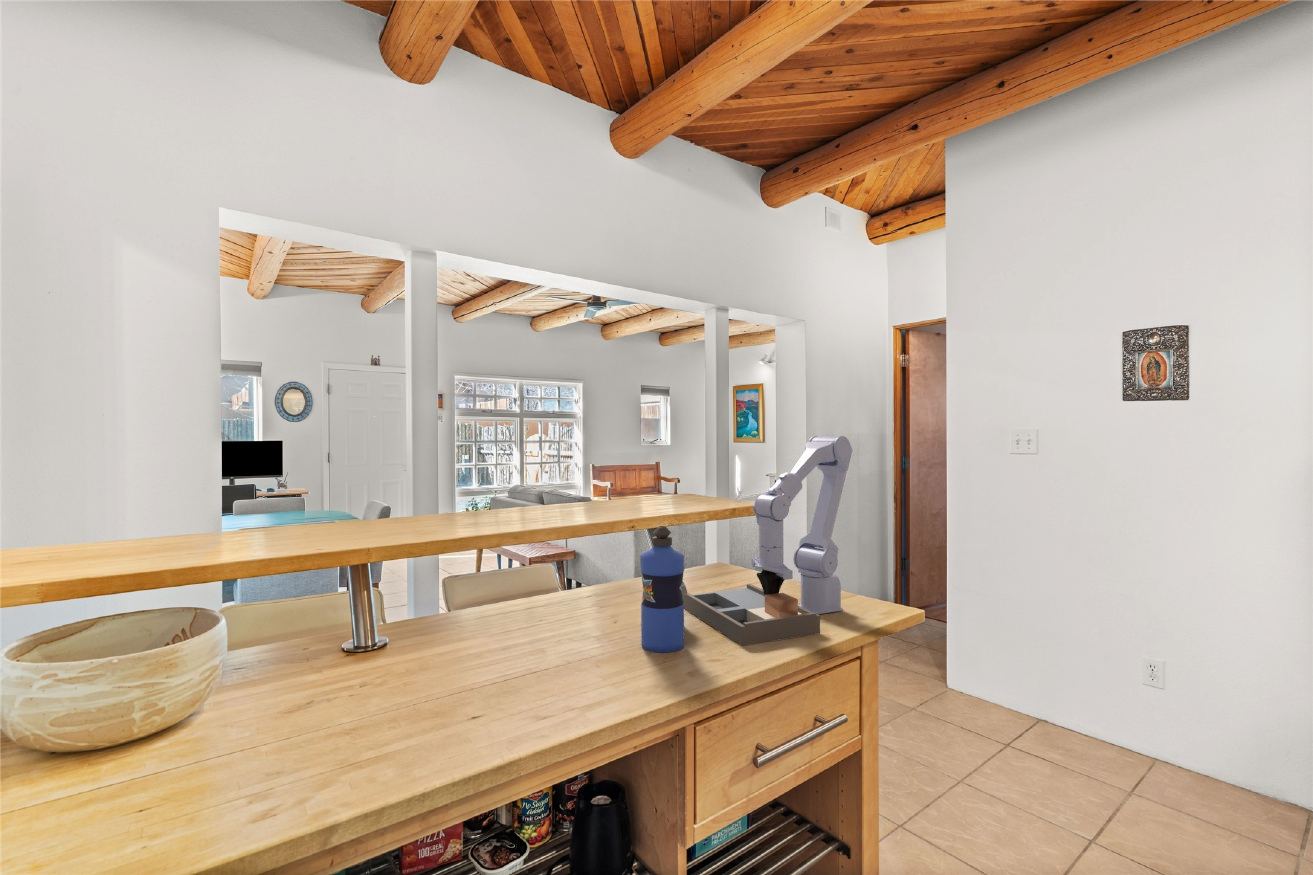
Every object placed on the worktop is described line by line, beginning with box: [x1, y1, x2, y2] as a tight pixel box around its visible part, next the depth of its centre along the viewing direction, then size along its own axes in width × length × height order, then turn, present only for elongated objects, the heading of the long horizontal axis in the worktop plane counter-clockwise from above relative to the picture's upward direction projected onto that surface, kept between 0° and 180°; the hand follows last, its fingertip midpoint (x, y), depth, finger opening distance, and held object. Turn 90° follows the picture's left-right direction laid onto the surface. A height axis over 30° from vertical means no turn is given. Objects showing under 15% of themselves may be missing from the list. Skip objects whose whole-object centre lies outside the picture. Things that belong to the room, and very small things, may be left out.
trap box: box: [684, 583, 821, 647], centre depth 144 cm, size 20×30×4 cm, turn 22°
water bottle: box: [639, 526, 685, 654], centre depth 127 cm, size 9×9×25 cm
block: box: [765, 592, 799, 618], centre depth 138 cm, size 5×6×4 cm
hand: (771, 603), depth 142 cm, fingers closed
